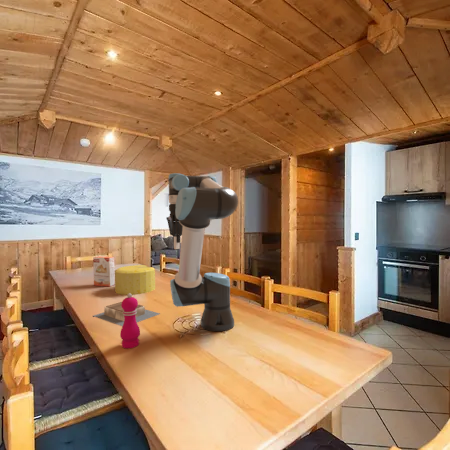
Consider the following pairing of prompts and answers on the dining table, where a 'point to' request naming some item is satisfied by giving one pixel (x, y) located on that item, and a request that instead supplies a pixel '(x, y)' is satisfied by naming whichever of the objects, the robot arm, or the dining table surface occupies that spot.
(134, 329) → the pepper mill
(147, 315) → the mat
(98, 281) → the cracker box
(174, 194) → the robot arm
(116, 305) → the brown wooden block
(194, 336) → the dining table surface
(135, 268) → the cheese
